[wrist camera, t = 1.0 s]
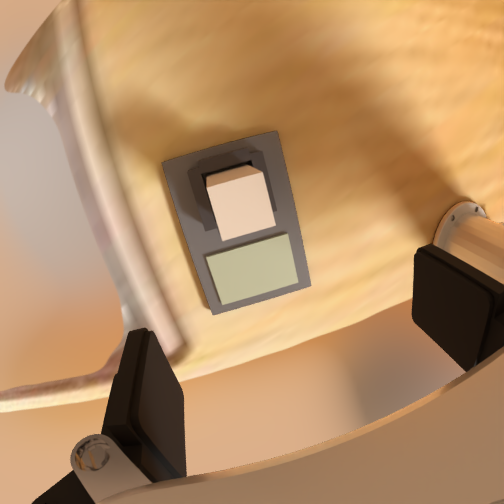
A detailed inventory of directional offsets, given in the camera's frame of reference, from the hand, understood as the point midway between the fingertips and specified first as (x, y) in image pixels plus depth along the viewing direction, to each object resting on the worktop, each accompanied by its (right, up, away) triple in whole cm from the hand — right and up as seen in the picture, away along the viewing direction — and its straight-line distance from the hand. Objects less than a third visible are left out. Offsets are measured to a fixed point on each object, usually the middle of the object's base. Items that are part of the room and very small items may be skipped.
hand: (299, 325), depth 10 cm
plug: (-4, +9, +21) cm, 23 cm away
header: (-3, +5, +24) cm, 24 cm away
